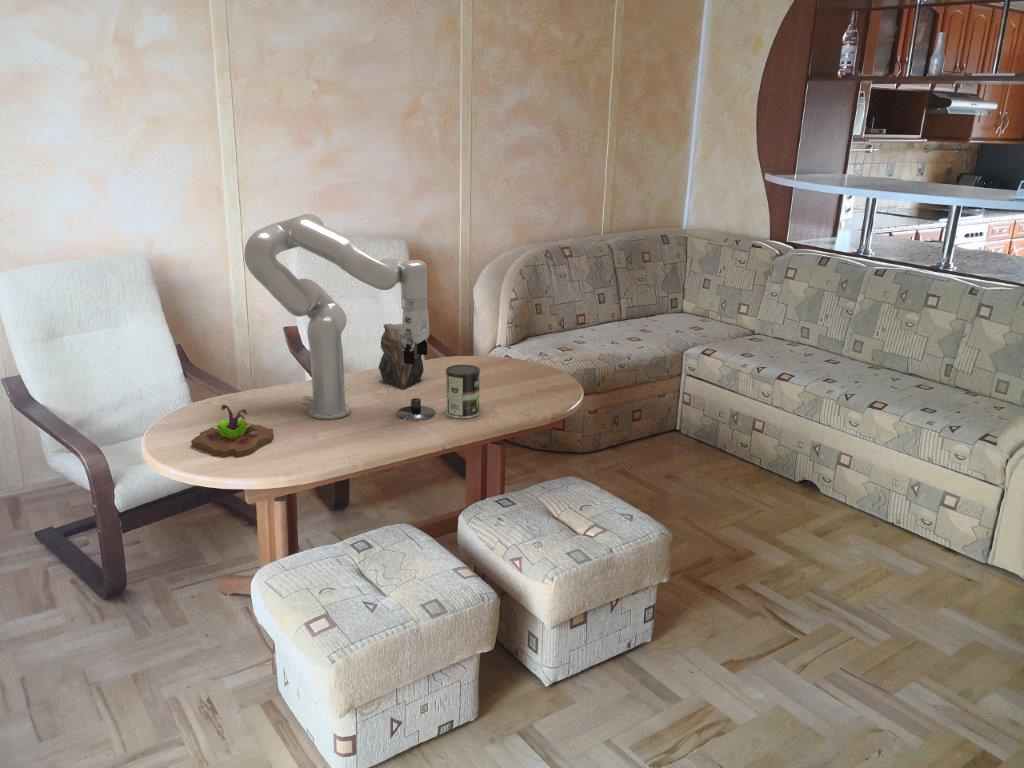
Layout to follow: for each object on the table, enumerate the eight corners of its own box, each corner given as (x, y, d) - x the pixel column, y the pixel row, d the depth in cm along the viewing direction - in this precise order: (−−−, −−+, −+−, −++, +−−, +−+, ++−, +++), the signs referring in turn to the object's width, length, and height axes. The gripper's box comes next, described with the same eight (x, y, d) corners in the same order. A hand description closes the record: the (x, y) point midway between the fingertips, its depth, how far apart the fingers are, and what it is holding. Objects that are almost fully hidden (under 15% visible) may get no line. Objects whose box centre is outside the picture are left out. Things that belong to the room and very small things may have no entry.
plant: (229, 425, 247) (225, 389, 244) (284, 436, 241) (282, 399, 237) (179, 450, 230) (175, 411, 226) (238, 462, 223) (235, 423, 219)
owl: (377, 381, 287) (375, 324, 280) (405, 373, 296) (404, 318, 289) (402, 390, 279) (401, 331, 273) (430, 381, 288) (429, 324, 282)
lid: (390, 419, 255) (390, 403, 253) (406, 406, 266) (405, 391, 264) (426, 424, 252) (426, 408, 250) (440, 411, 262) (440, 396, 261)
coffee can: (480, 407, 265) (480, 364, 261) (478, 419, 256) (478, 374, 251) (447, 406, 265) (447, 363, 261) (444, 418, 256) (444, 374, 251)
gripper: (414, 310, 239) (416, 368, 244) (437, 297, 254) (438, 352, 260) (390, 308, 241) (392, 366, 246) (414, 295, 256) (415, 350, 262)
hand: (415, 358), depth 253 cm, fingers open, 9 cm apart
